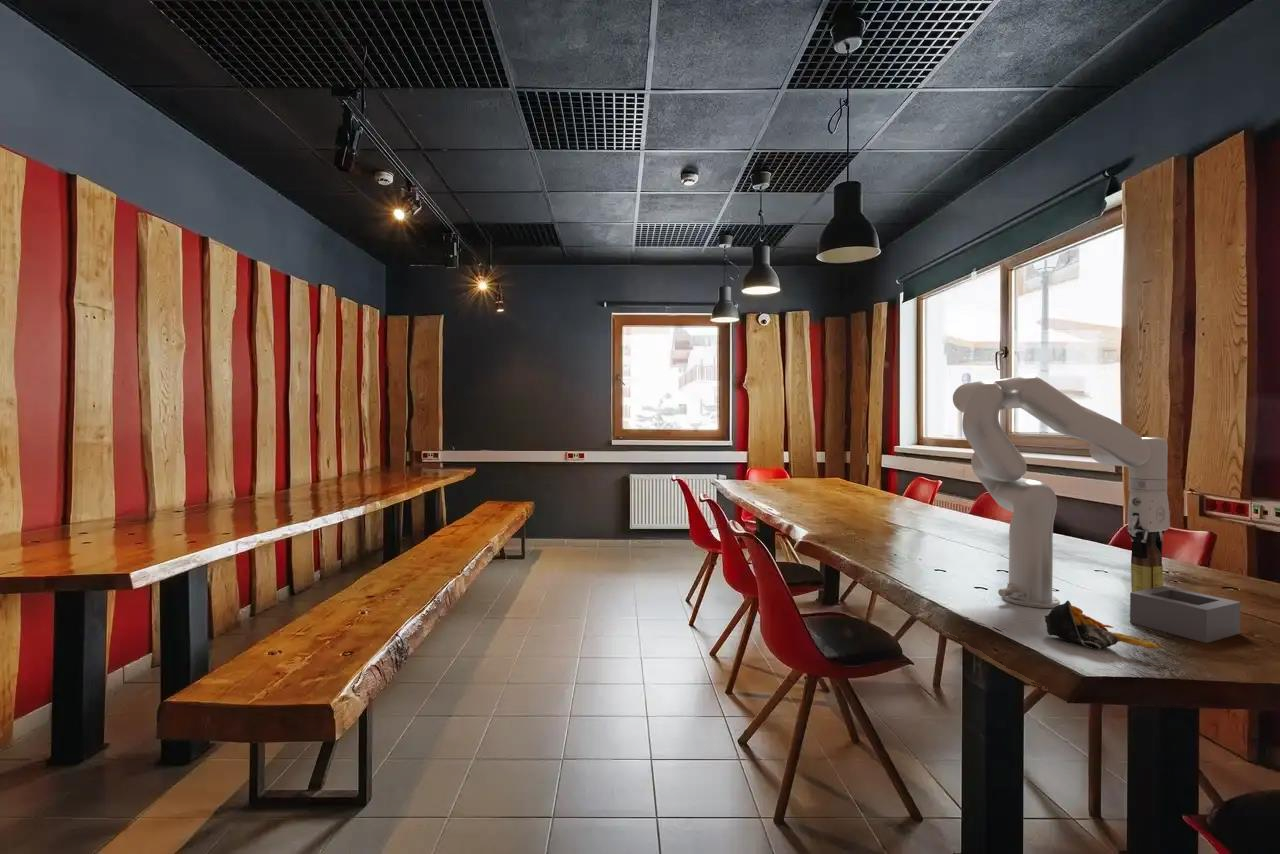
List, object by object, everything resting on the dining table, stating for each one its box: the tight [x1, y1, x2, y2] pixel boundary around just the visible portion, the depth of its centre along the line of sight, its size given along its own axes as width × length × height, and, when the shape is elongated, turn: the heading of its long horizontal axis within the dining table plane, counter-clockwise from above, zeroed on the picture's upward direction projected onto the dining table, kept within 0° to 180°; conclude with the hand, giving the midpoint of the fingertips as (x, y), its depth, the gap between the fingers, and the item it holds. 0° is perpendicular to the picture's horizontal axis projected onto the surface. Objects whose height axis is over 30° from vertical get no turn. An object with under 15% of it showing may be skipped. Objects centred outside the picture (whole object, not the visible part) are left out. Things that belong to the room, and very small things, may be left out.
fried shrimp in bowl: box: [1044, 600, 1162, 650], centre depth 124 cm, size 9×11×18 cm
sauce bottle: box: [1130, 527, 1164, 592], centre depth 152 cm, size 6×6×20 cm
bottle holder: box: [1129, 585, 1241, 644], centre depth 135 cm, size 14×14×7 cm
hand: (1146, 555), depth 152 cm, fingers closed on sauce bottle, 5 cm apart
